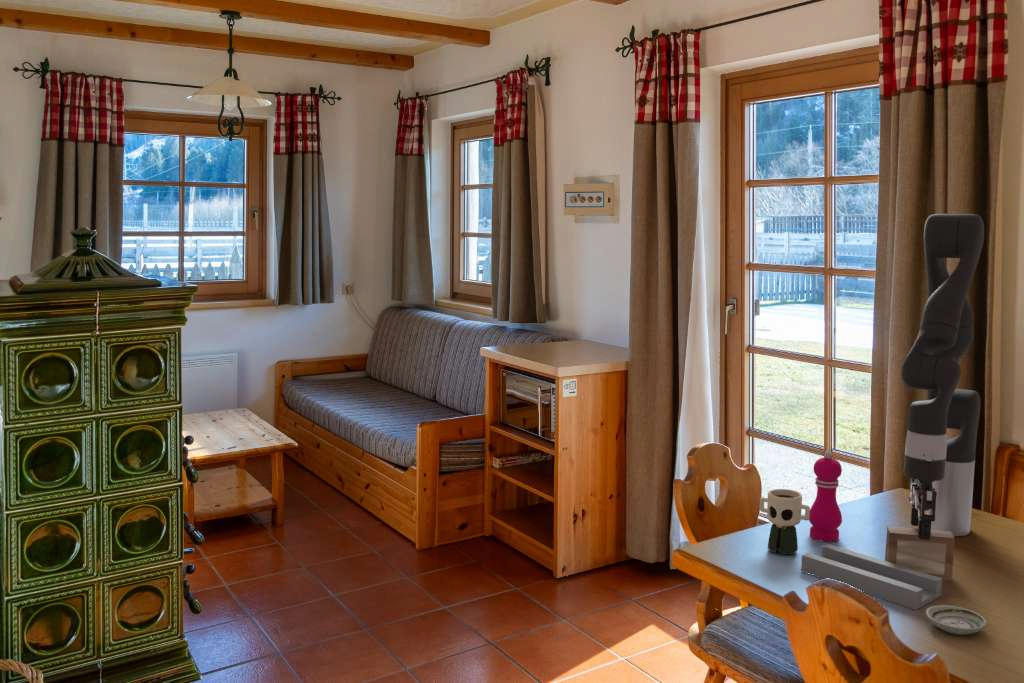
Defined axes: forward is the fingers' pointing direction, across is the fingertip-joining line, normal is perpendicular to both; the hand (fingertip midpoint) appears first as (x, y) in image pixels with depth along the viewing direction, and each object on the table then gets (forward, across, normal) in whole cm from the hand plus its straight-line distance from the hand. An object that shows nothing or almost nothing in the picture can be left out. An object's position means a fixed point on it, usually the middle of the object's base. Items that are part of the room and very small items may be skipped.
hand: (920, 532), depth 184 cm
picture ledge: (+9, +7, -10) cm, 15 cm away
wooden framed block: (+9, 0, 0) cm, 9 cm away
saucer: (+10, +24, +2) cm, 26 cm away
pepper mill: (+9, -18, -17) cm, 26 cm away
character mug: (+9, -7, -26) cm, 28 cm away
